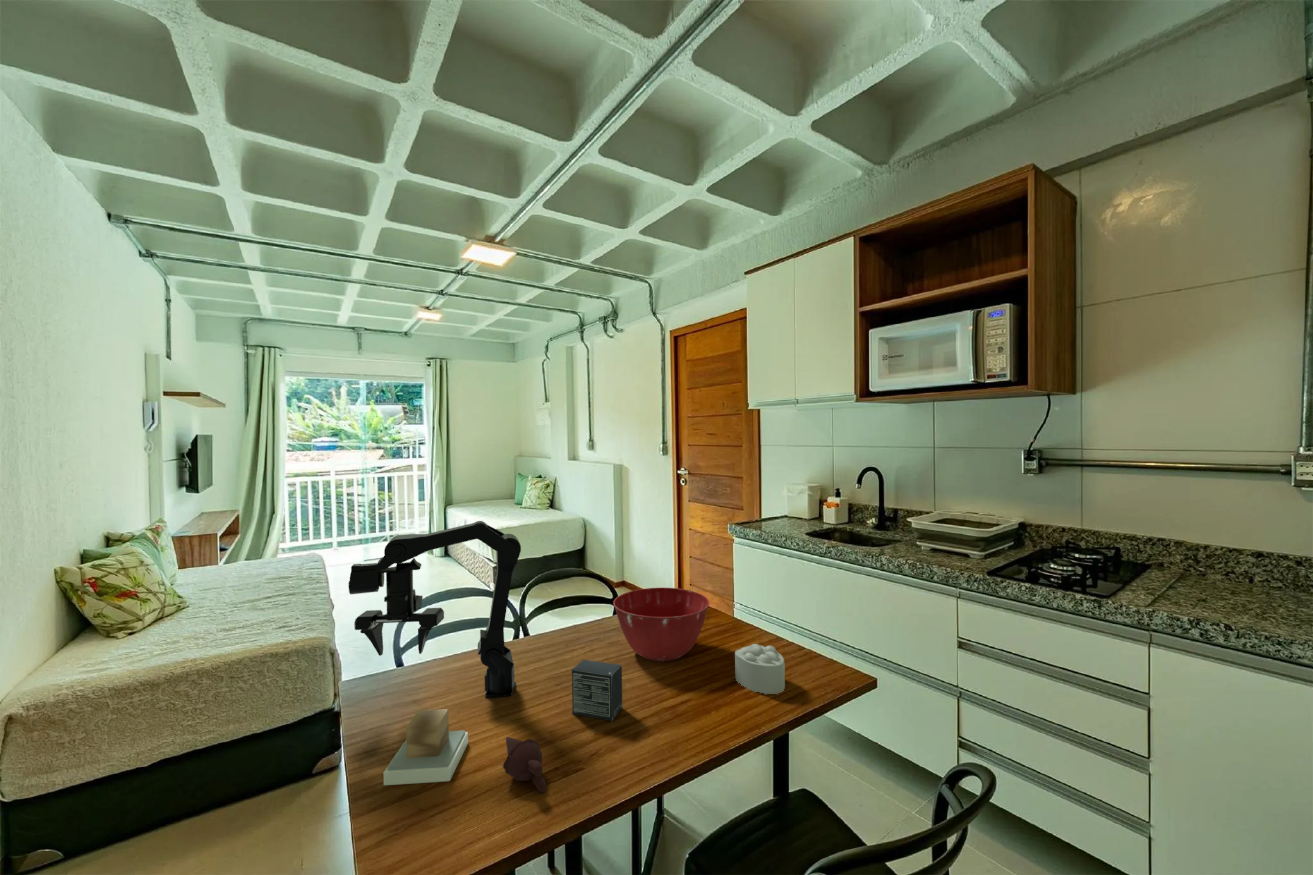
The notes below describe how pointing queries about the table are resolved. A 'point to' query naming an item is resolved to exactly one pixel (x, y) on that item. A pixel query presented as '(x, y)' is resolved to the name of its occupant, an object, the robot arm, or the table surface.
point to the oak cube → (427, 733)
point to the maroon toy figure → (524, 761)
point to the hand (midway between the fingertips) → (401, 654)
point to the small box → (597, 689)
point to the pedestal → (427, 763)
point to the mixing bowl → (661, 621)
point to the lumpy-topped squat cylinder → (760, 669)
